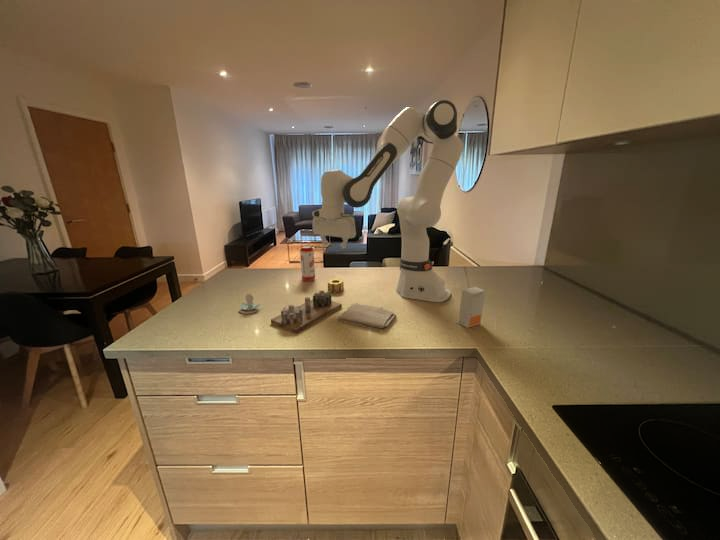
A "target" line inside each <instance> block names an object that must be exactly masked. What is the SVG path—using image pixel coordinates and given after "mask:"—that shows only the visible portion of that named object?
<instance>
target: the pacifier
mask: <svg viewBox="0 0 720 540" xmlns="http://www.w3.org/2000/svg"><path fill="white" fill-rule="evenodd" d="M245 301H246V302H241V303H240V304H239V307H240V309H239V313H241V314H244V315H247V314H255V313H257V312H258V311H257V309H256V308H258V307H260V305H261V304H260V303H257V304H253V302H254V295H253V294H251V293H247V294H246V296H245Z"/></svg>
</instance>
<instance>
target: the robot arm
mask: <svg viewBox="0 0 720 540" xmlns="http://www.w3.org/2000/svg"><path fill="white" fill-rule="evenodd" d="M457 130H458V111H457V107H456V106H455V104H454V103H453V102H452V101H450V100H448V99H447V100H446V99H442V100H438V101H436V102H435V103H432V105H430V107H429V108H428V110H427V111H426V113H425V112H420V111H419V110H418V109H417V108H415V107H412V106H409V107H405V108H404V109H402V110H401V111H400V112H399V113H398V114H397V115H396V116H395V117H394V118H393V119H392V120H391V121H390V123H389V124H388V125H387V127H386V128H385V129H384V131H383V132H382V134H381V135H380V137H379V139H378V140H377V143H376V151H375V153H374V156H373V157H372V158H371V159H370V161H369V162H368V164H367V165H366V167H365V168H364V169H363V170H362V171H361V173H360V174H359V175H358V176H356V177H353V176H351V175H348V174H347V173H345V172H343V170H341V169H332V170H328V171H325V172H324V173H323V174H322V176H321V179H320V194H321V199H322V202H321V208H319V209H316V210H313V211H312V223H311V224H312V232H313V234H314V235H319V236H320V237H319V238H320V239H321V242H322V246H324V247H325V246H326V247H327V246H329V241H328V240H327V238H326V237H327V236H328V237H334V238H335V237H336V238H341V240H342V243H340V245H339V246H340V249H344V250H345V249H346V248H347V243H348V242H349V241H348V240H349V239H354V238H355V237H356V236H357V231H356V223H355V222H356V220H355V217H354V216H353V215H352V214H350V213H349V214H347V213H345V203H346V204H347V205H348V206H349V207H352V208H354V209H355V208H362V207H364V206H366V204H368V203H369V201H370V199H371V197H372V194H373V190H374V188H375V185H376V184H377V182H378V181H379V180H380V179H381V178H382V176H383V174H384V173H385V172H386V170H387V169H388V168H389V167H390V166H391V165H392V164H393V163H394V162H395V161H398V159H399V158H400V157H401V156H402V155H403V154H404V153H405V152H406V151H407V150H408V149H409V148H410V146H411V145H412V144H413V143H414V141H415V140H416V139H418V140H421V141H424V142H425V143H427V144H432V150H431V152H430V154H429V156H428V158H427V160H426V161H425V163H424V166H423V167H422V170H421V172H420V173H419V176H418V180H417V181H418V184H417V187H416V191H415V195H413V196H411V195H410V196H407V197H404V198H402V199H401V200H400V201H399V202H398V204H397V207H396V212H397V216H398V219H399V227H400V234H401V235H400V236H401V257H400V258H399V260H400V261H399V271H400V272H399V278H398V283H397V286H396V289H395V290H396V292H397V293H398V294H400V296H401V298H405V299H412V300H417V301H418V300H419V301H424V302H431V303H438V304H439V303H444V302H445V301H447V300H448V299H449V298H450V297H451V295H452V293H451V290H450V289H447V288H446V282H445V279H444V278H443V277H442V276H441V275H440V274H439V273H438V272H437V271H435V269H433V265H434V262H435V261H431V259H429V255H430V254H429V253H430V237H429V236H428V232H427V229H428V228H432V227H434V226H436V225H437V223H439V222H440V219H441V216H442V210H441V204H442V200H443V195H444V193H445V191H446V188H447V185H448V183H449V182H450V180H451V178H452V176H453V174H454V173H455V170H456V168H457V165H458V164H459V161H460V158H461V155H462V153H463V148H464V144H463V143H464V142H463V140H461V138H459V137H458V136H457V135H456V133H457Z"/></svg>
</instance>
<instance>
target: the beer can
mask: <svg viewBox="0 0 720 540" xmlns="http://www.w3.org/2000/svg"><path fill="white" fill-rule="evenodd" d="M299 250H300V251H299V253H300V254H299V255H300V257H299V258H300V268H301V271H300V272H301V278H302V280H303V281H305V282H311V281H314V280H315V279H316V270H315V269H316V267H315V251H314V248H313V246H312V245H302V246H301V247H300V249H299ZM313 279H314V280H313Z"/></svg>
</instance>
